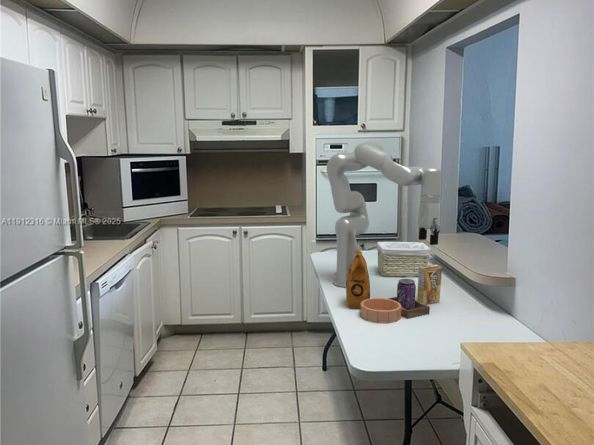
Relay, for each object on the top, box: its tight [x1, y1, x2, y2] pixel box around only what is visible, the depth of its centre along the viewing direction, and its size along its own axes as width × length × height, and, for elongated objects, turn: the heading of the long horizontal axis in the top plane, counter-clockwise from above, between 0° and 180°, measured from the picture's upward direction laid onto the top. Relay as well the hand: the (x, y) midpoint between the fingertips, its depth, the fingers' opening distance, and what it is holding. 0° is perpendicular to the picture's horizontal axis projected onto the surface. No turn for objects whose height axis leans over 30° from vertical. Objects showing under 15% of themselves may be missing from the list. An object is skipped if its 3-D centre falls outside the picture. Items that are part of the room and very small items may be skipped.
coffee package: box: [345, 248, 371, 310], centre depth 200 cm, size 10×12×22 cm
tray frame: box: [387, 296, 431, 320], centre depth 195 cm, size 15×11×3 cm
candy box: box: [416, 264, 443, 305], centre depth 203 cm, size 9×4×15 cm, turn 116°
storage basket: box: [376, 241, 432, 278], centre depth 246 cm, size 24×16×15 cm
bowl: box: [359, 297, 402, 324], centre depth 189 cm, size 15×15×4 cm
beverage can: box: [396, 278, 417, 310], centre depth 195 cm, size 7×7×12 cm
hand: (428, 242), depth 198 cm, fingers open, 9 cm apart
